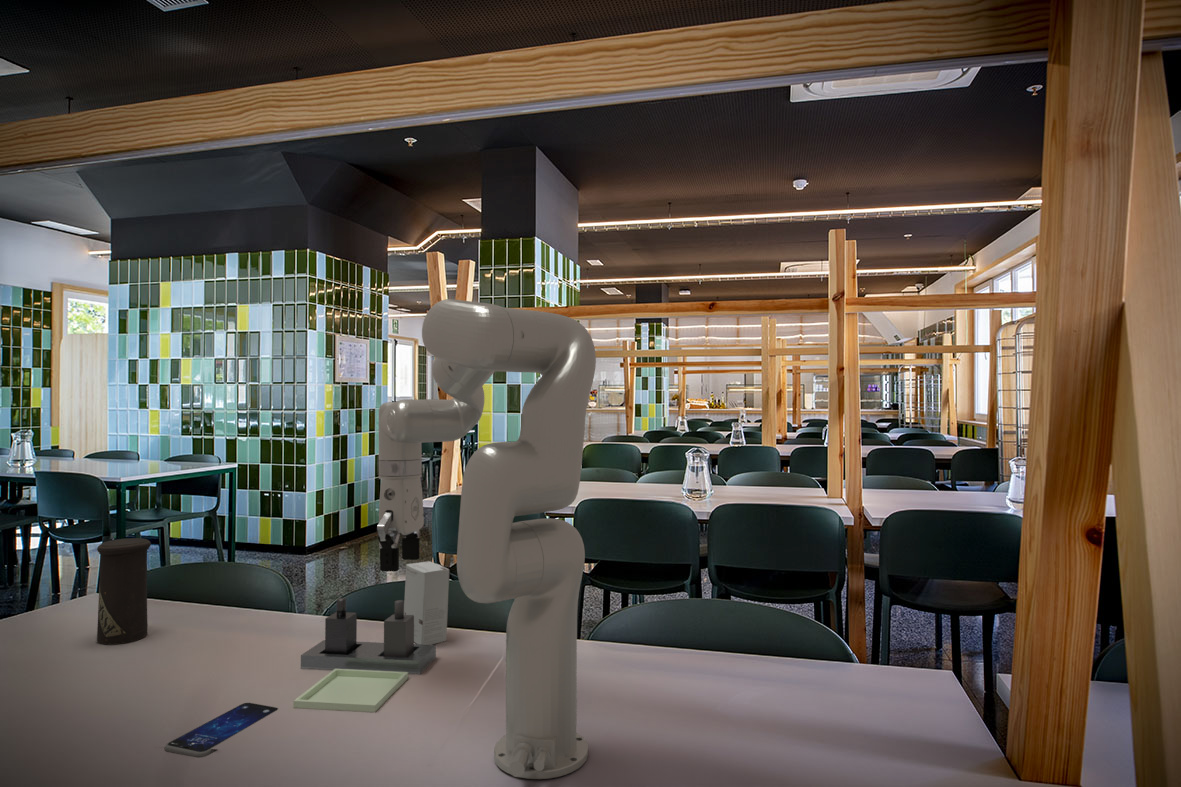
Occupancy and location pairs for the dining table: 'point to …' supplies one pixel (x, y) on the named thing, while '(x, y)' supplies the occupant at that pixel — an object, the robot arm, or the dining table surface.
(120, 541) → the container
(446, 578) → the skincare box
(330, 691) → the tray
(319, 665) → the grey two-slot holder
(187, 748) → the smartphone
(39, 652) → the dining table surface
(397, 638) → the plug
